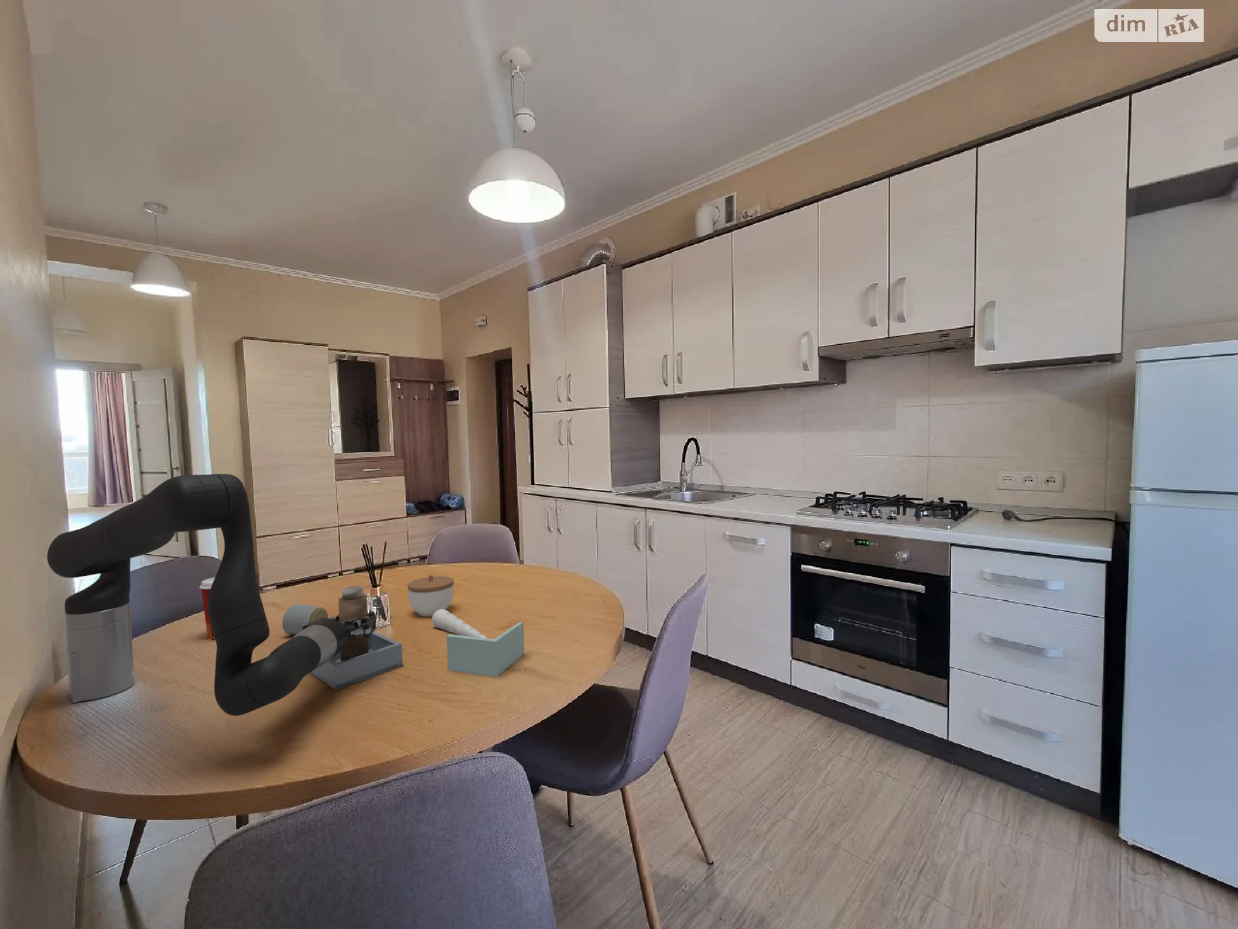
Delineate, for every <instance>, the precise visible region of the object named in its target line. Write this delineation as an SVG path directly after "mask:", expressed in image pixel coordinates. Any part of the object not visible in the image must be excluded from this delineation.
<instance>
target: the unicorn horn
mask: <svg viewBox="0 0 1238 929" xmlns="http://www.w3.org/2000/svg"><path fill="white" fill-rule="evenodd" d="M431 623H432V626H434V627H435V628H437V629H440V630H442V631H443V630H444V631H445V632H449V633H450V634H453V635H460V636H469V637H478V638H487V639H489V638H488V636H485V635H484V634H482V633H481V632H480V631H479V630H477V629H476V628H474V627H473V626H471V625H470V624H468V623H466V622H465V621H464V620H462V619H461V618H459V617H457V616H456V615H455V614H453V613H451V612H450V611H448V610H447V609H446V610H445V609H440V610H438V611H436V612H435V613H434V614H433V616H431Z"/></svg>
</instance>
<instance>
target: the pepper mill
mask: <svg viewBox="0 0 1238 929" xmlns="http://www.w3.org/2000/svg"><path fill="white" fill-rule="evenodd" d="M367 596H368V595H367V594H365V593H364V587H363V586H361V585H352V586H346V587H344V588H342V589H341V597H339V598H338V615H339V622H340V621H343V620H345V621H346V620H349V619H352V618H355V617H356V618H361V617H364V616H365V615H366V614H368V597H367ZM353 624H354V622H353ZM362 624H363V621H362V622H361V626H362ZM366 653H369V643H368V638H364V637H363V634H358V635H356V636H355V637H354V638H351V639H349V640H348V641H347V643H346V645H345V647H344V648H343V649H342V650H341V651H340V654H341V662H342V661H345V660H348V659H351V658H354V657H357V656H360V655H363V654H366Z"/></svg>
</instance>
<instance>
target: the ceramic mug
mask: <svg viewBox="0 0 1238 929" xmlns="http://www.w3.org/2000/svg"><path fill="white" fill-rule="evenodd" d="M282 617H283V618H282V629H283V632H284V633H286V634H288V635H294V636H295V635H296V634H297V633H299V632H301V631H302V627H303V626H305V625H307V624H309V623H312V622H314V621H316V620H318V619H321V618H329V613H328V610H326V609H325V608H324V607H321V606H316V605H307V604H302V603H300V604H299V603H295V604H292V605H291V606H289V607H288V608H287V609H286V611H285V612H284V614H283V616H282Z"/></svg>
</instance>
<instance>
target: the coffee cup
mask: <svg viewBox="0 0 1238 929" xmlns="http://www.w3.org/2000/svg"><path fill="white" fill-rule="evenodd" d="M214 579H215V577H211V578H206V579H204V580H202V581H201V584H200V585H199V589H200V590H201V596H202V606H203V612H204V613H203V614H204V620H205V628H206V634H207V639H208V638H209V639H215V637H214V633H213V630H212V626H211V622H210V618H209V614H208V596H209V592H210V589H211V586H212V583H213V581H214ZM209 639H208V640H209Z"/></svg>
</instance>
